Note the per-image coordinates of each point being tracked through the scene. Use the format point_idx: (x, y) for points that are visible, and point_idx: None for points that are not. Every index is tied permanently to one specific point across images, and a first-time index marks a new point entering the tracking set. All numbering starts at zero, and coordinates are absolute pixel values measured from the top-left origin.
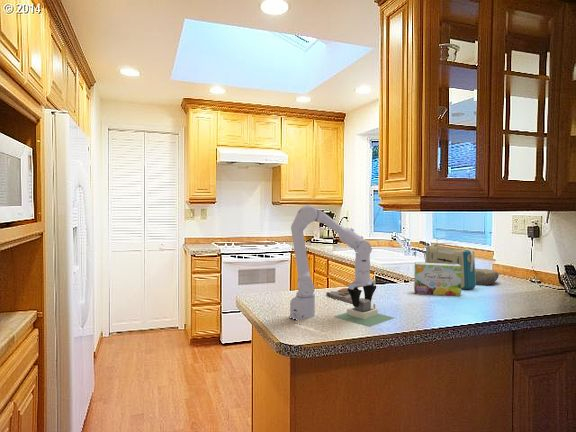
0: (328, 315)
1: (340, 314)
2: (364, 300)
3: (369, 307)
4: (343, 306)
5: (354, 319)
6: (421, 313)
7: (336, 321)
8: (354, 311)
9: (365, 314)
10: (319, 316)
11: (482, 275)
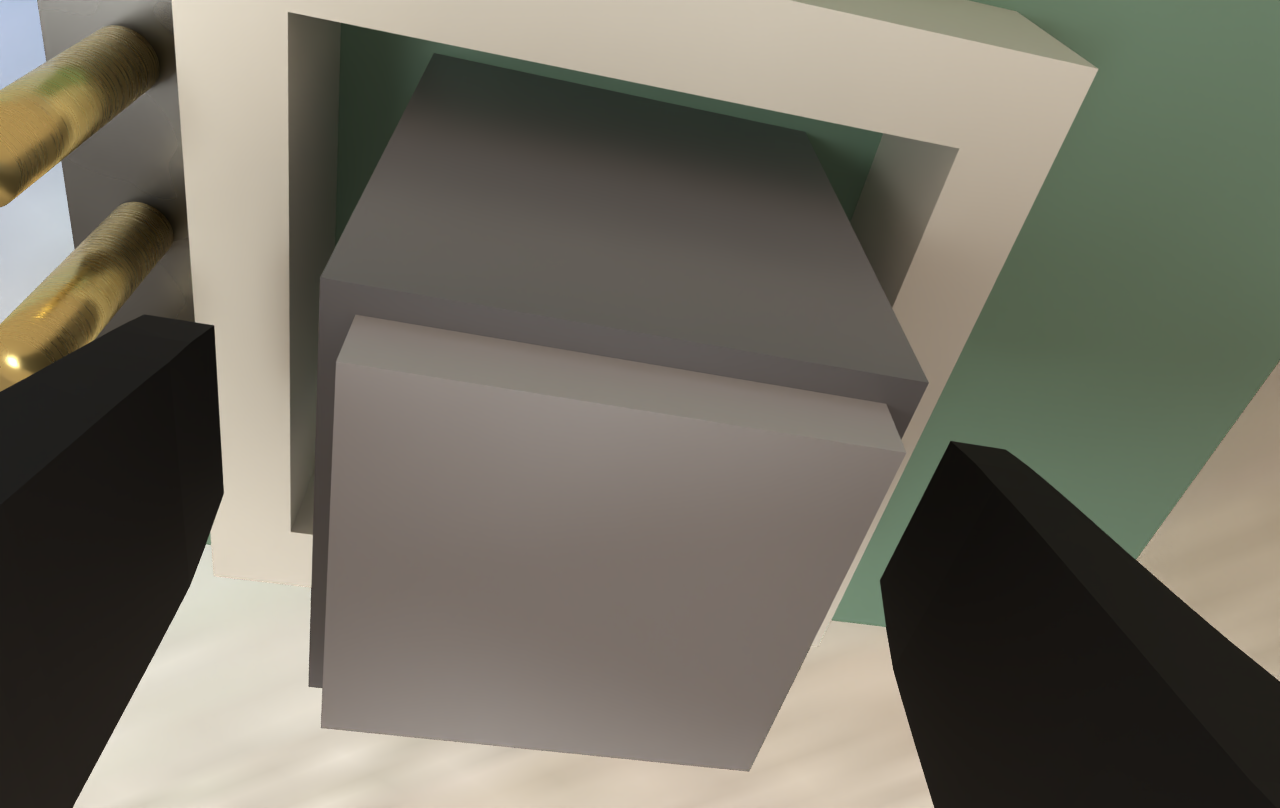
0: (854, 736)
1: (859, 622)
2: (654, 502)
3: (472, 169)
4: (155, 798)
5: (1141, 237)
6: None
7: (1184, 512)
8: (911, 436)
9: (1002, 37)
10: None
11: None
